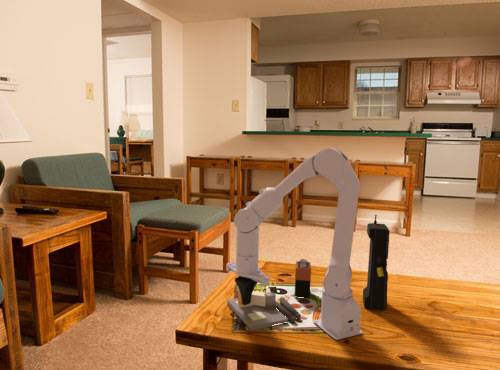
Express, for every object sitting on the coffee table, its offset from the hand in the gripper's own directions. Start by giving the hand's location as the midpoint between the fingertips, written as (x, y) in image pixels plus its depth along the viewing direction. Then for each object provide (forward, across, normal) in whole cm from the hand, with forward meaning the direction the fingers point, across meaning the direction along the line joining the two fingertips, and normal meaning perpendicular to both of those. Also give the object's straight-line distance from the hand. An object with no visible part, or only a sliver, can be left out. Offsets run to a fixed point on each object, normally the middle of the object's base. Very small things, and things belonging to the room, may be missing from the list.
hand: (246, 303), depth 103 cm
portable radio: (+3, -20, -31) cm, 37 cm away
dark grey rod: (+2, -5, -8) cm, 9 cm away
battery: (+3, -2, -21) cm, 21 cm away
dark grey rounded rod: (+2, -7, -10) cm, 12 cm away
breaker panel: (+2, -2, -2) cm, 4 cm away
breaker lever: (+1, 0, -4) cm, 4 cm away
